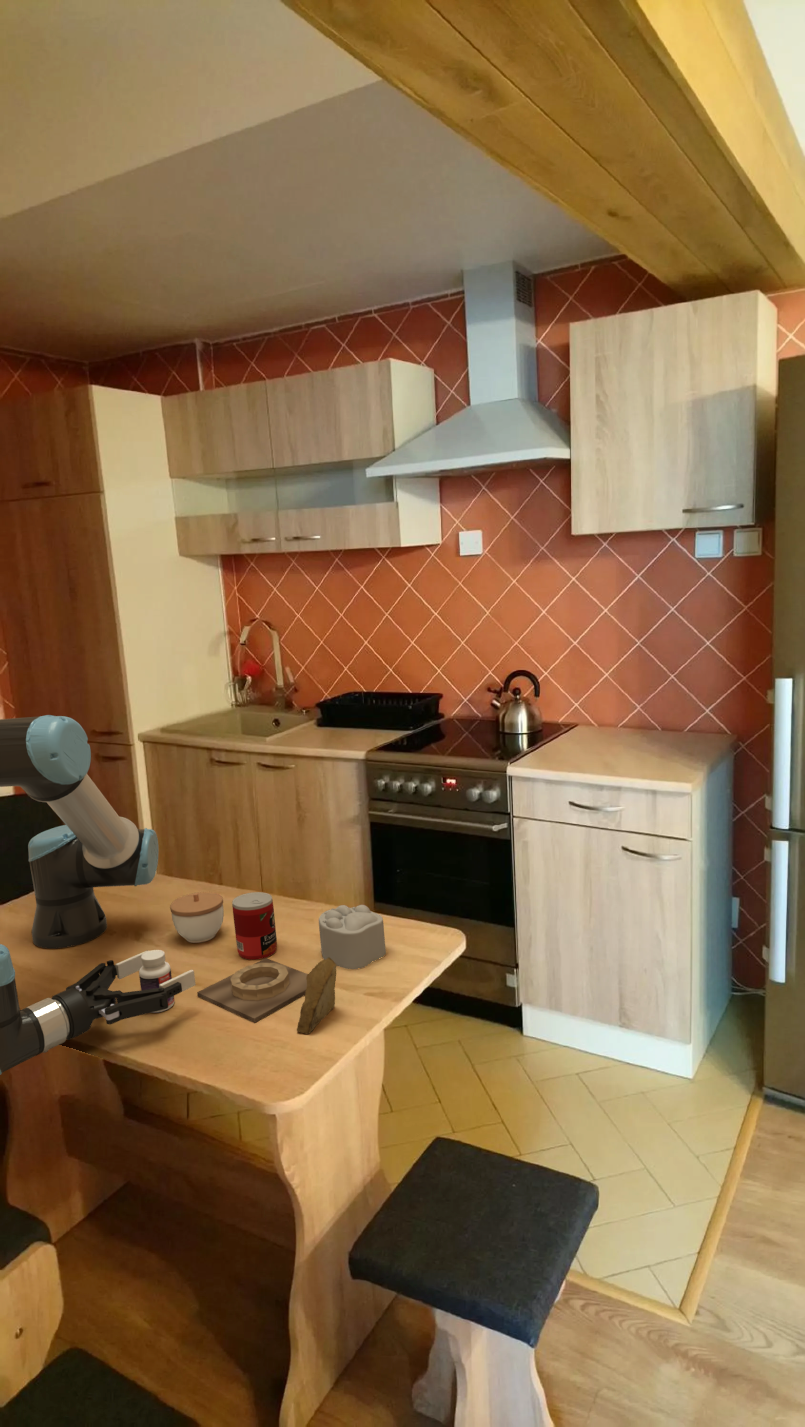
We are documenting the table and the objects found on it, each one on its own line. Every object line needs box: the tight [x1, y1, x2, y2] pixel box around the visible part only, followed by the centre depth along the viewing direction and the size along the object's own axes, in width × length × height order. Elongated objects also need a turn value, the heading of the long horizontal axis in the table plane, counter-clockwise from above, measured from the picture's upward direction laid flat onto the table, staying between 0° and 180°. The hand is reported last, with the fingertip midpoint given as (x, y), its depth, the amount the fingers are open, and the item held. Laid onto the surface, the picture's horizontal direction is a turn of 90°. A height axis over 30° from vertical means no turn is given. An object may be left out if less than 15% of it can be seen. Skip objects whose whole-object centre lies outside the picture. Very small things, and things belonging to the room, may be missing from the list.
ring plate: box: [196, 957, 308, 1024], centre depth 159 cm, size 16×16×3 cm
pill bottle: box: [138, 949, 175, 1014], centre depth 156 cm, size 5×5×10 cm
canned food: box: [231, 891, 278, 961], centre depth 174 cm, size 8×8×11 cm
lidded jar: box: [169, 891, 225, 944], centre depth 184 cm, size 11×11×9 cm
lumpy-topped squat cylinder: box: [318, 904, 387, 970], centre depth 171 cm, size 10×13×9 cm
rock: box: [296, 957, 337, 1035], centre depth 148 cm, size 11×9×10 cm
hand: (171, 967), depth 158 cm, fingers open, 13 cm apart
